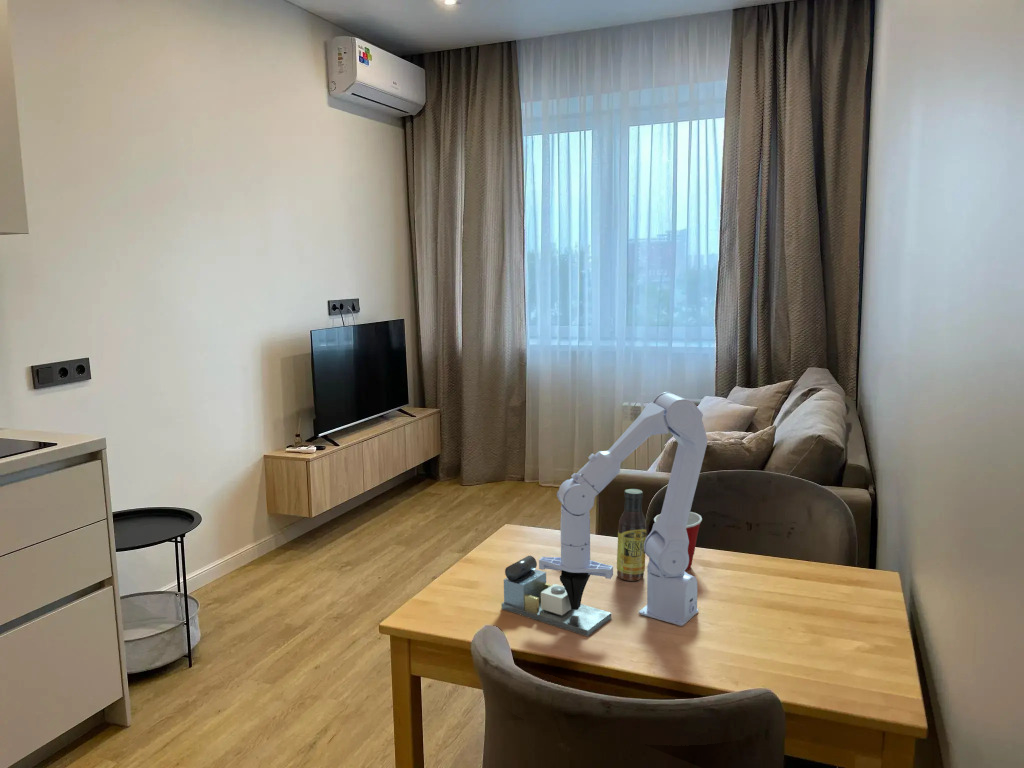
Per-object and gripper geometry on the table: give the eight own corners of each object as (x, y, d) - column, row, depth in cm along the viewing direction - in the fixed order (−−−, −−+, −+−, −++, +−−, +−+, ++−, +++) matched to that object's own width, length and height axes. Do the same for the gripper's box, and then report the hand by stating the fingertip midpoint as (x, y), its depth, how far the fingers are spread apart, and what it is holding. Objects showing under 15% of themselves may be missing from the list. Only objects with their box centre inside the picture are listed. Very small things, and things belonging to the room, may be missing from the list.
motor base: (611, 618, 148) (611, 574, 147) (587, 636, 141) (587, 590, 140) (527, 593, 161) (526, 552, 159) (501, 608, 153) (500, 566, 152)
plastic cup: (647, 559, 178) (648, 510, 176) (691, 556, 179) (692, 508, 178) (661, 577, 168) (661, 526, 166) (708, 574, 169) (709, 523, 167)
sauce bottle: (623, 584, 164) (623, 496, 162) (612, 573, 170) (612, 488, 168) (650, 580, 166) (651, 493, 163) (638, 569, 172) (639, 485, 169)
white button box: (575, 606, 151) (575, 587, 150) (562, 615, 147) (561, 596, 146) (554, 600, 154) (554, 581, 153) (541, 608, 150) (540, 590, 149)
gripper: (617, 538, 147) (616, 604, 149) (546, 530, 152) (547, 594, 154) (607, 551, 140) (607, 619, 142) (534, 542, 145) (535, 608, 147)
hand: (575, 607), depth 148 cm, fingers closed
